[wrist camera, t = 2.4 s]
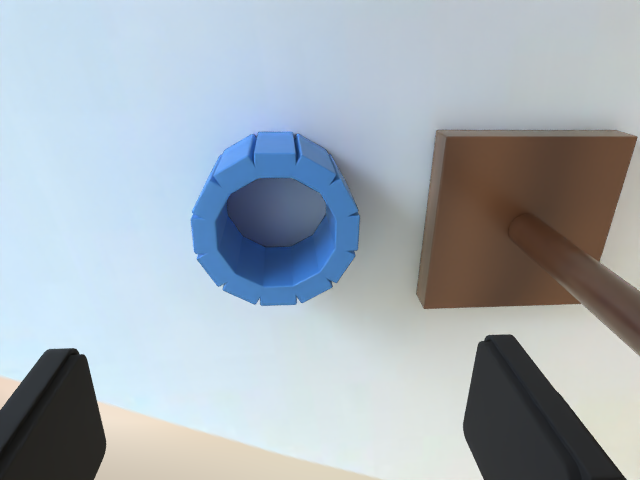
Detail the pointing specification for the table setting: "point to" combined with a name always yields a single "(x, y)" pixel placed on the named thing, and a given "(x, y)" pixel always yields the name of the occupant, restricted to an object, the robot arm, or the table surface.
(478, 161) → the tape peg
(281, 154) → the blue grooved ring
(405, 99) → the table surface
